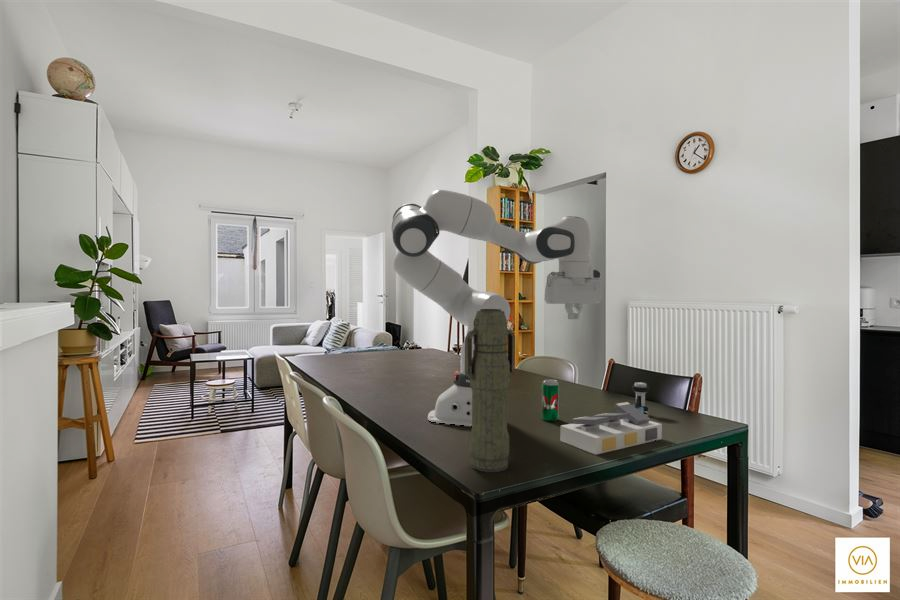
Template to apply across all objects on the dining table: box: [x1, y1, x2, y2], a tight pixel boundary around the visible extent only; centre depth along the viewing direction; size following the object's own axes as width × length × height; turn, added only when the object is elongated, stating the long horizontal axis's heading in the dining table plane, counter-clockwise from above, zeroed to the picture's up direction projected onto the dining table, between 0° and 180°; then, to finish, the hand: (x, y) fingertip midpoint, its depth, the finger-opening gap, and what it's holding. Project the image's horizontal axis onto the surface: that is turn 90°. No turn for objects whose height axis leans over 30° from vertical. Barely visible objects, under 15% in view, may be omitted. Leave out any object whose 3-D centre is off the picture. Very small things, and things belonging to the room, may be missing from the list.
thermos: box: [464, 309, 516, 473], centre depth 104 cm, size 9×12×35 cm
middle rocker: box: [592, 412, 631, 420], centre depth 123 cm, size 5×8×1 cm, turn 30°
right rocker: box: [613, 401, 651, 425], centre depth 127 cm, size 5×8×1 cm, turn 30°
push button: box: [631, 381, 650, 417], centre depth 149 cm, size 7×5×10 cm
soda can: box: [541, 378, 560, 422], centre depth 142 cm, size 5×5×12 cm
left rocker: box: [571, 416, 610, 425], centre depth 119 cm, size 5×8×1 cm, turn 30°
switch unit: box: [559, 418, 663, 455], centre depth 123 cm, size 25×12×5 cm, turn 120°
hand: (573, 319), depth 137 cm, fingers closed
